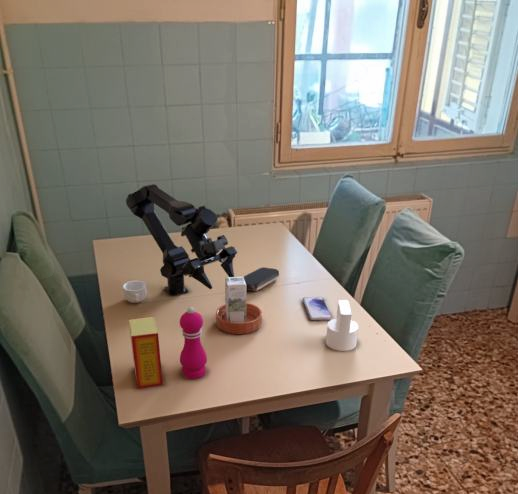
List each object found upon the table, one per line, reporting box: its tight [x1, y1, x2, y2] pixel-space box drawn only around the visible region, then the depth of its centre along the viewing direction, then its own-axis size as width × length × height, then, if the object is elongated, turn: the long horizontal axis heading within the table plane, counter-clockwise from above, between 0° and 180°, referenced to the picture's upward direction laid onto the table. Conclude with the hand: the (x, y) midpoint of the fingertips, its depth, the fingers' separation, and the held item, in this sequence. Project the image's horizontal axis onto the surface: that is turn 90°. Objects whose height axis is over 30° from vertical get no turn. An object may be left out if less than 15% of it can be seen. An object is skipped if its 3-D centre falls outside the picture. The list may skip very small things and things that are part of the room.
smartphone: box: [302, 296, 333, 321], centre depth 186 cm, size 7×1×15 cm
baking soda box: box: [128, 315, 164, 389], centre depth 148 cm, size 10×6×16 cm
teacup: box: [122, 280, 148, 304], centre depth 188 cm, size 10×8×5 cm
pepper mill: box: [179, 306, 208, 380], centre depth 149 cm, size 7×7×20 cm
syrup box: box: [224, 276, 247, 323], centre depth 174 cm, size 6×6×14 cm
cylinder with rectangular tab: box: [325, 299, 359, 352], centre depth 166 cm, size 9×9×12 cm
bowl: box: [215, 302, 263, 335], centre depth 177 cm, size 14×14×4 cm
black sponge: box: [243, 266, 280, 292], centre depth 202 cm, size 16×8×4 cm, turn 143°
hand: (222, 284), depth 177 cm, fingers open, 9 cm apart
